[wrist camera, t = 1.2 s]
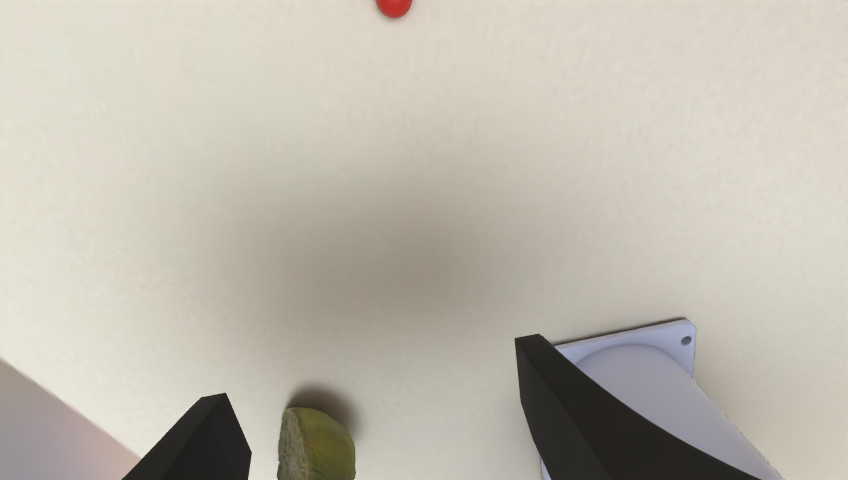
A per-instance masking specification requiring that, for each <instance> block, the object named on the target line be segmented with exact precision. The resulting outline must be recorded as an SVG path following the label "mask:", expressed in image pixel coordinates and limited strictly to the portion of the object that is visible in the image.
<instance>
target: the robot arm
mask: <svg viewBox="0 0 848 480" xmlns="http://www.w3.org/2000/svg"><path fill="white" fill-rule="evenodd" d="M684 337H685V338H684ZM683 338H684V339H683ZM682 339H683V340H682ZM695 340H696V326H695V325H694V324H693V323H692V322H691V321H690V320H687V319H685V320H678V321H674V322H669V323H664V324H659V325H654V326H649V327H644V328H639V329H634V330H630V331H625V332H620V333H615V334H610V335H605V336H600V337H595V338H590V339H586V340H581V341H576V342H571V343H566V344H561V345H556V346H553V345H552V344H551V343H549V342H548V341H547V340H546V339H545V338H544V337H543V336H541V335H540V334H534V335H529V336H524V337H519V338H515V347H516V358H517V368H518V378H519V389H520V399H521V404H522V407H523V410H524V413H525V416H526V419H527V423H528V426H529V429H530V432H531V435H532V438H533V440H534V443H535V445H536V447H537V449H538V452H539V454H540V459H541V468H542V478H543V480H785V479H784V478H783V477H782V476H781V475H780V474H779V473H778V472H777V471H776V470H775V469H774V467H773V466H772V465H771V464H770V463H769V462H768V461H767V460H766V459H765V458H764V456H763V455H762V454H761V453H760V452H759V451H758V450H757V449H756V448H755V447H754V446H753V444H752V443H751V442H750V441H749V440H748V439H747V438H746V437H745V436H744V435H743V433H742V432H741V431H740V430H739V429H738V428H737V427H736V426H735V425H734V424H733V423H732V421H731V420H730V419H729V418H728V417H727V416H726V415H725V414H724V413H723V412H722V410H721V409H720V408H719V407H718V406H717V405H716V404H715V403H714V402H713V401H712V399H711V398H710V397H709V396H708V395H707V394H706V393H705V392H704V391H703V390H702V389H701V387H700V386H699V385H698V384H697V383H696V382H695V381H694V380H693V379H692V378H693V366H694V353H695ZM251 454H252V452H251V450H250V448H249V445H248V443H247V441H246V438H245V436H244V434H243V431H242V429H241V427H240V424H239V422H238V420H237V417H236V415H235V413H234V410H233V408H232V406H231V403H230V401H229V399H228V396H227V394H226V393H222V394H217V395H211V396H206V397H201V398H200V399H199V400H198V401H197V402H196V403H195V404H194V405H193V406H192V407H191V408H190V409H189V410H188V411H187V412H186V413H185V414H184V415H183V416H182V417H181V418H180V419H179V420H178V421H177V423H176V424H175V425H174V426H173V427H172V428H171V429H170V430H169V431H168V432H167V433H166V434H165V435H164V436H163V437H162V439H161V440H160V441H159V442H158V443H157V444H156V445H155V446H154V447H153V448H152V449H151V450H150V451H149V452H148V453H147V454H146V455H145V456H144V457H143V458H142V459H141V461H140V462H139V463H138V464H137V465H136V466H135V467H134V468H133V469H132V470H131V471H130V472H129V473H128V474H127V475H126V476H125V477H124V478H123V479H122V480H248V476H249V469H250V462H251Z"/></svg>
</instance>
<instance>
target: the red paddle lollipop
mask: <svg viewBox="0 0 848 480" xmlns="http://www.w3.org/2000/svg"><path fill="white" fill-rule="evenodd" d="M376 3H377V6H378V8H379V9H380V11H381V12H382V13H383V14H384V15H386V16H388V17H391V18H398V17H401V16H403V15H404V14H405V13H407V11H408V10H409V8H410V6H411V3H412V0H376Z"/></svg>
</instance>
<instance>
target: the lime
mask: <svg viewBox="0 0 848 480" xmlns="http://www.w3.org/2000/svg"><path fill="white" fill-rule="evenodd" d="M278 453H279V458H278V459H279V460H278V461H279V462H280V463H279V465H278V472H277V478H278V480H354V478H355V473H356V472H355V447H354V443H353V440H352V438H351V436H350V434H349V432H348V431H347V430H346V428H345V427H343V426H342V425H341V424H340V423H338V422H337V421H335V420H334V419H333V418H331V417H330V416H329V415H327V414H325V413H323V412H321V411H319V410H315V409H312V408H306V407H291V408H287V410H285V412H284V414H283V417H282V425H281V433H280V439H279V444H278Z"/></svg>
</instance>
